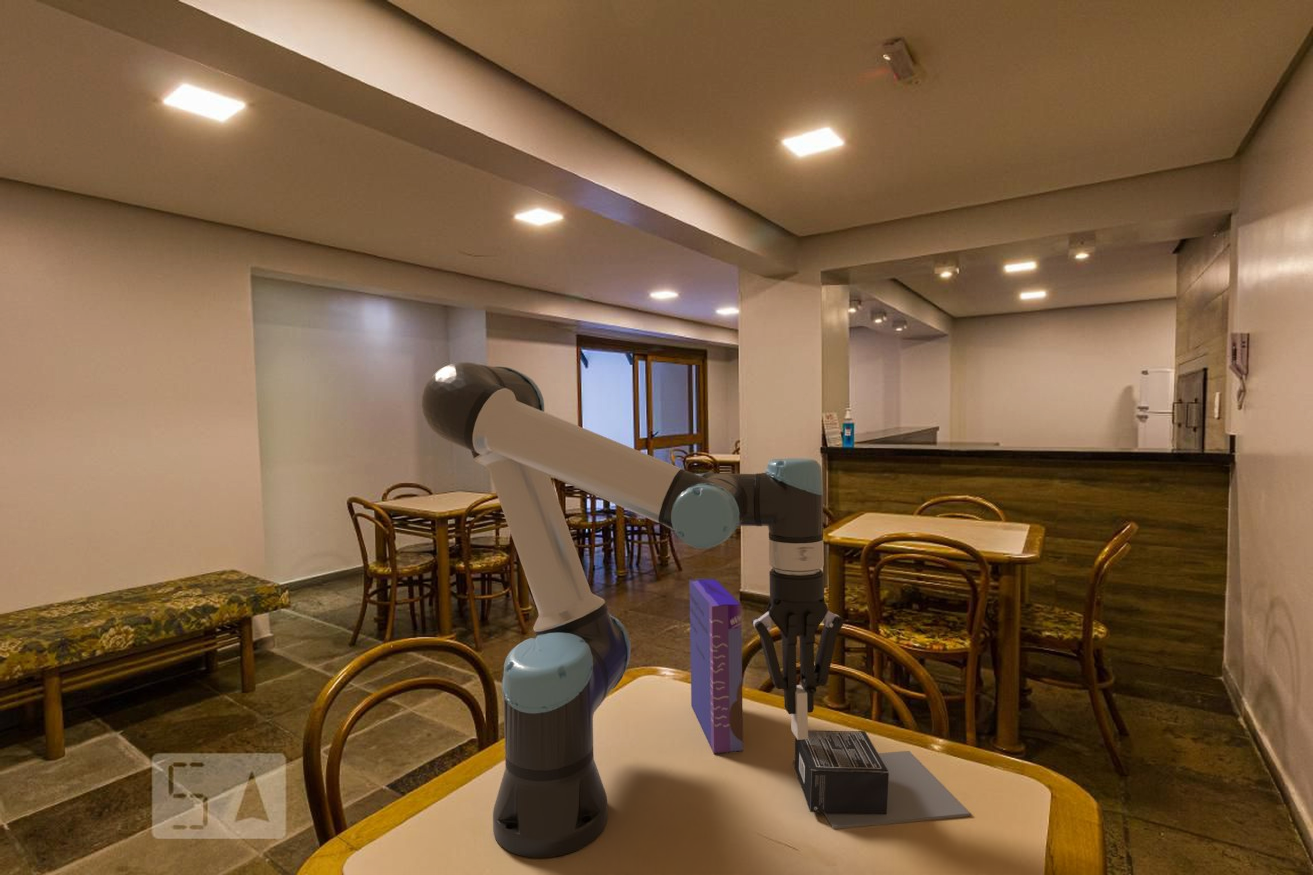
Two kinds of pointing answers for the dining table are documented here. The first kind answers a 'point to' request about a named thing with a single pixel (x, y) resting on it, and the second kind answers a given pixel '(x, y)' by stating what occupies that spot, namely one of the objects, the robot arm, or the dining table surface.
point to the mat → (906, 796)
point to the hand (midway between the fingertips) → (799, 734)
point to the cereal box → (716, 664)
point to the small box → (841, 772)
